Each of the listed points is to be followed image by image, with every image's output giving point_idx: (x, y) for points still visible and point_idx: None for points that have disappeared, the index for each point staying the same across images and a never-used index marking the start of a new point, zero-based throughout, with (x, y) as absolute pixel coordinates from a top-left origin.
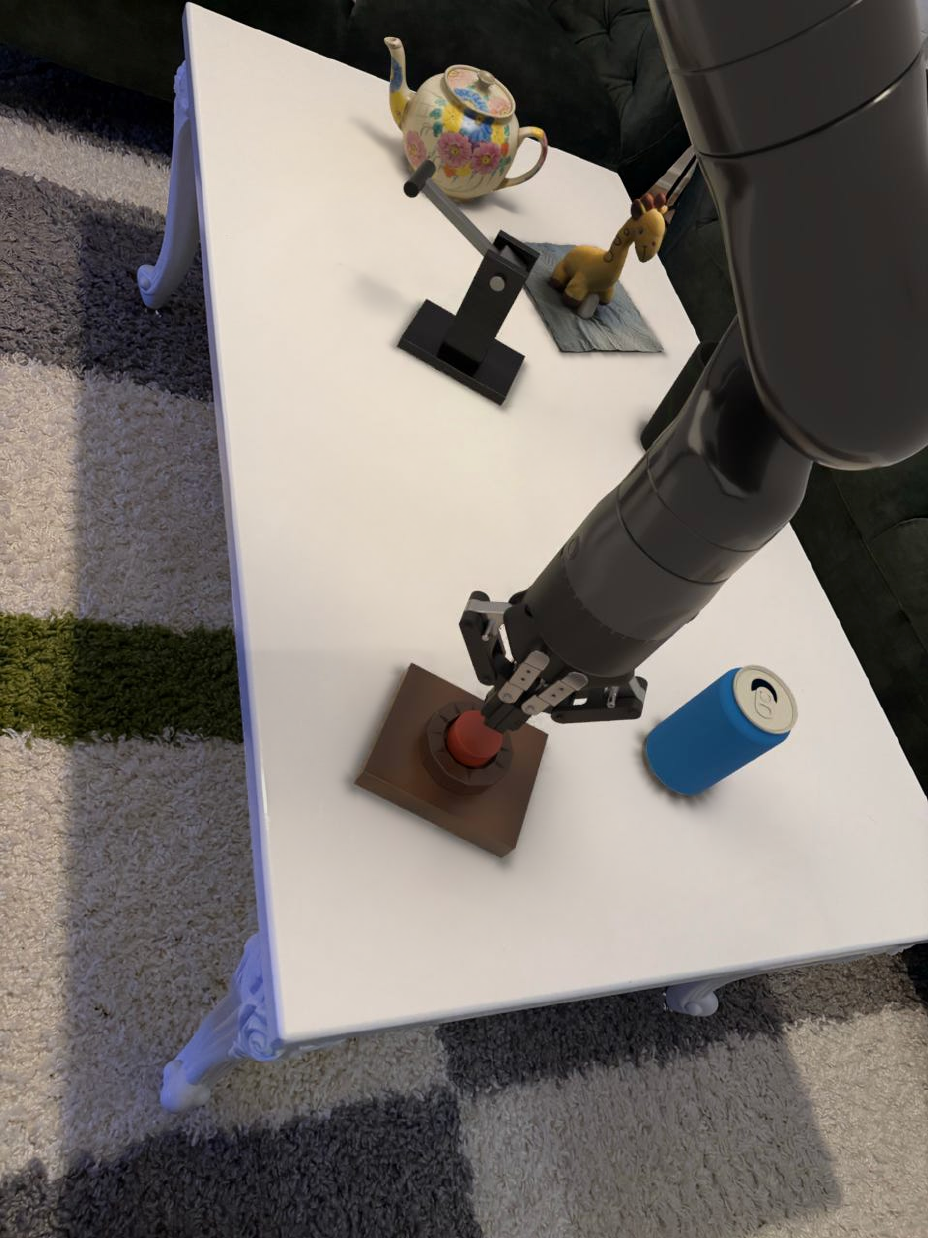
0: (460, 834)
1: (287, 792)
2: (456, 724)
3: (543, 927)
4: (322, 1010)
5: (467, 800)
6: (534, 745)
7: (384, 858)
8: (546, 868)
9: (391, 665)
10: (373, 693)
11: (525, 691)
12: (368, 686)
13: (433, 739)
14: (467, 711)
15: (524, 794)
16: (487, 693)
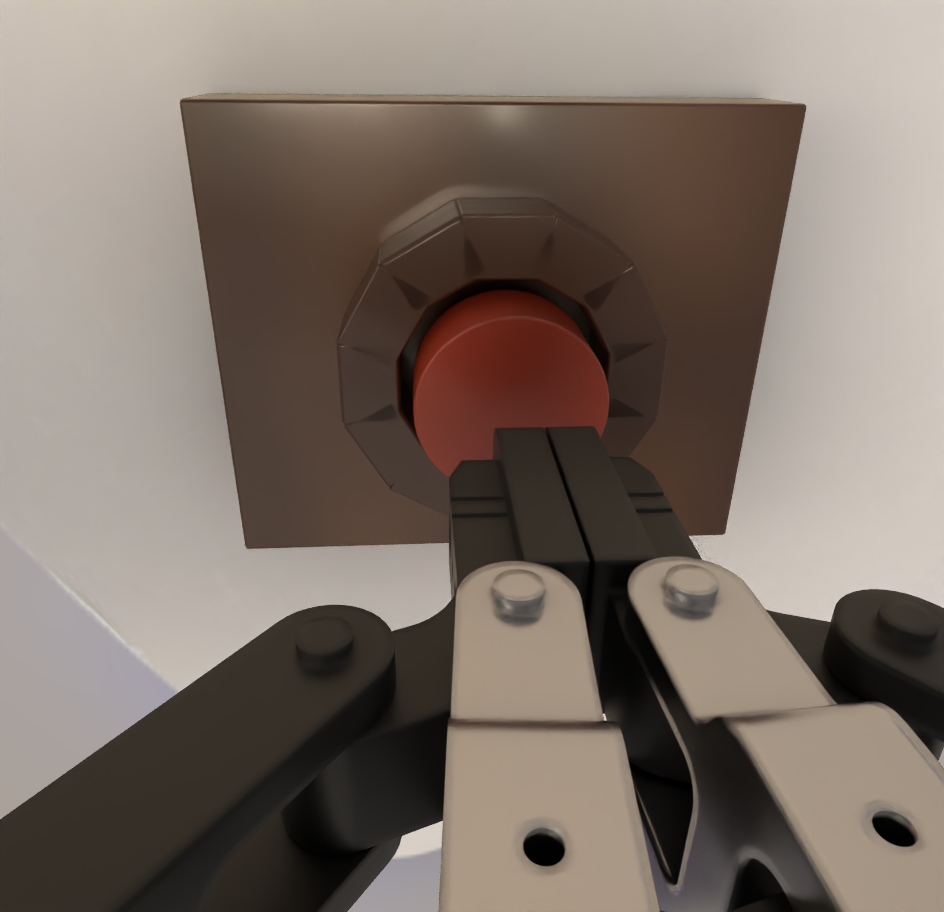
0: None
1: (133, 589)
2: (416, 422)
3: (821, 581)
4: (417, 843)
5: None
6: (751, 187)
7: (413, 612)
8: (822, 460)
9: (151, 70)
10: (159, 220)
11: (613, 663)
12: (131, 204)
13: (375, 441)
14: (438, 351)
15: (733, 379)
16: (449, 484)
